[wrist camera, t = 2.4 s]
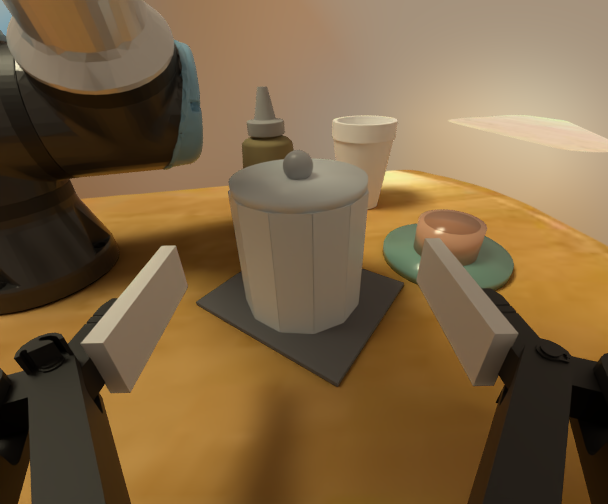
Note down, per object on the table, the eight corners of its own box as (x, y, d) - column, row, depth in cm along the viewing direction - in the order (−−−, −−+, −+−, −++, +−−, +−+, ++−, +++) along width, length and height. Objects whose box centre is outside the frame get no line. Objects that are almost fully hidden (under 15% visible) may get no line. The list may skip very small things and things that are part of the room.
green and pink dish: (363, 266, 34) (367, 231, 32) (404, 221, 44) (409, 191, 41) (503, 313, 27) (521, 272, 25) (515, 247, 37) (529, 213, 34)
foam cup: (393, 198, 52) (405, 117, 45) (376, 218, 45) (387, 127, 38) (343, 189, 56) (347, 114, 49) (321, 207, 49) (321, 123, 42)
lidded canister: (224, 302, 29) (192, 157, 22) (292, 252, 37) (285, 132, 29) (319, 353, 24) (319, 183, 16) (375, 282, 31) (393, 143, 24)
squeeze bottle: (309, 230, 42) (307, 86, 33) (254, 242, 40) (234, 90, 30) (290, 209, 49) (283, 84, 39) (241, 218, 46) (221, 87, 37)
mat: (196, 304, 29) (196, 301, 29) (284, 244, 39) (283, 241, 39) (337, 387, 21) (337, 383, 21) (403, 285, 31) (403, 282, 31)
